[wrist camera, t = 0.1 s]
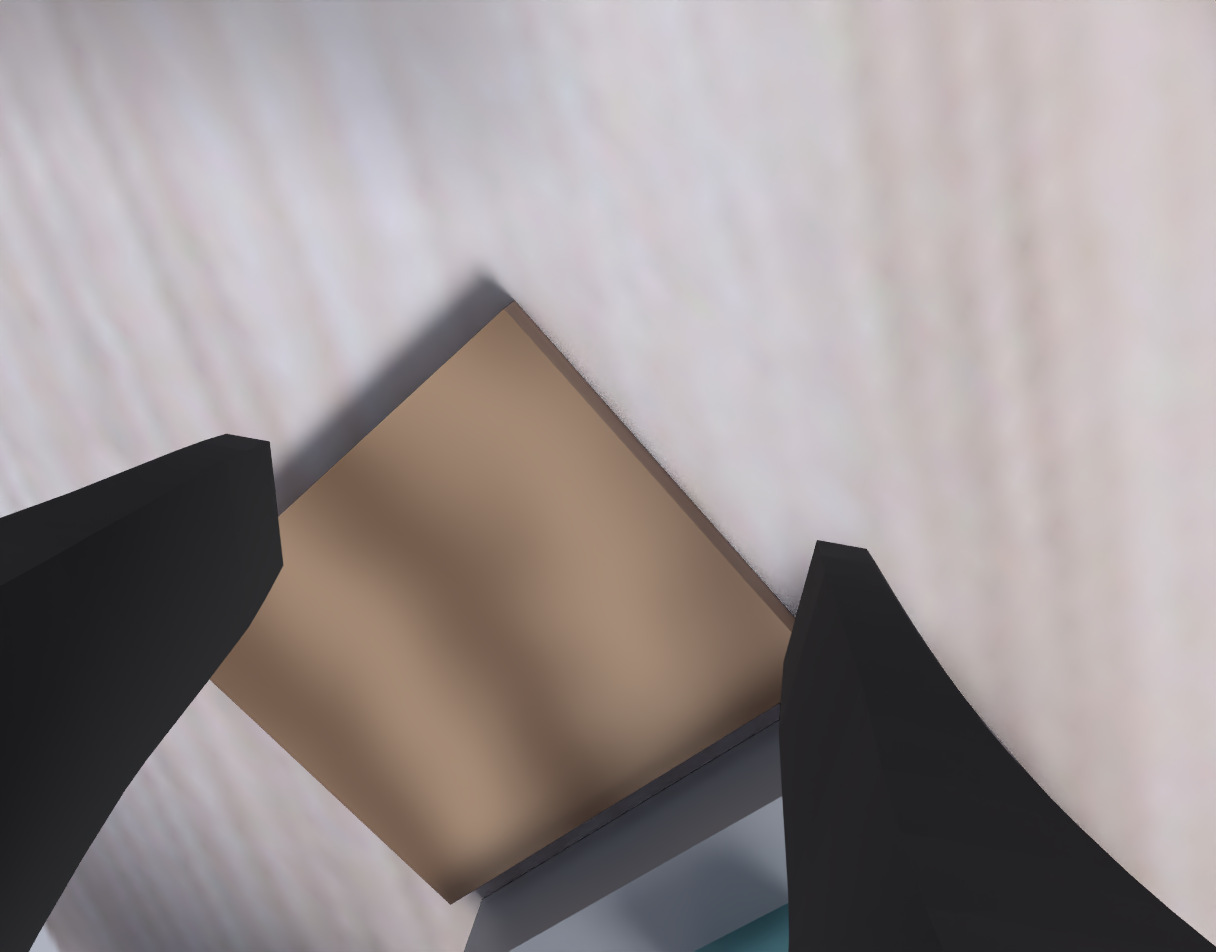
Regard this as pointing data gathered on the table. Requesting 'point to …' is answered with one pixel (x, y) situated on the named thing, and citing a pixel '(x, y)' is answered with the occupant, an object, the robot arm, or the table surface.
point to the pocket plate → (658, 868)
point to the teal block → (756, 935)
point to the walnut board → (501, 617)
